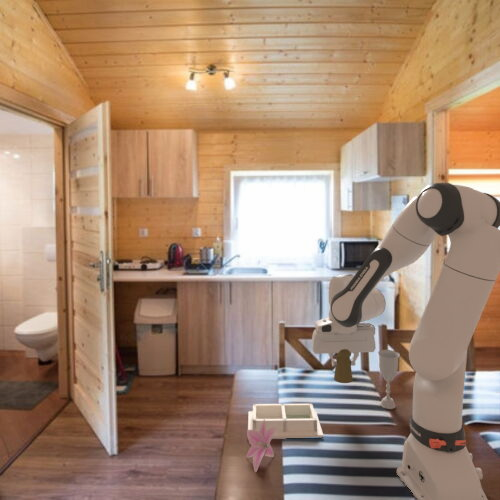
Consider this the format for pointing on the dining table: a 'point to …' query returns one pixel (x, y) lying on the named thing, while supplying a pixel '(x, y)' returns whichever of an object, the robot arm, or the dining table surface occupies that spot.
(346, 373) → the cork
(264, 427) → the lily
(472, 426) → the dining table surface
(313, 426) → the cream divided tray
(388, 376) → the chalice
